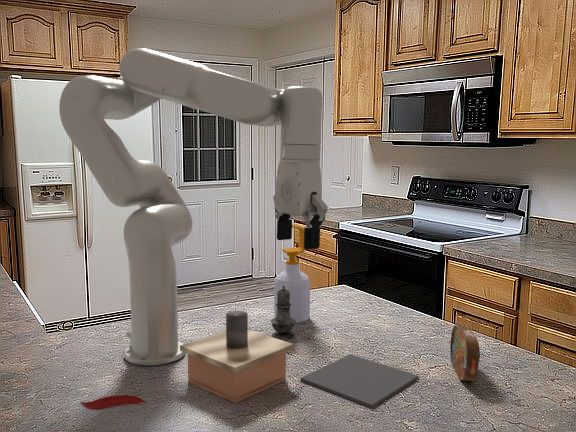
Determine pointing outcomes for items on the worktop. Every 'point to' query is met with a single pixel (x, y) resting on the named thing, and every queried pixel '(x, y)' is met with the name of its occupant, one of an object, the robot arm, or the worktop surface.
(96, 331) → the worktop surface
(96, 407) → the cayenne pepper
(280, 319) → the salt shaker
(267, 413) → the worktop surface
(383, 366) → the mat
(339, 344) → the worktop surface
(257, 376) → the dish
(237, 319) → the lid
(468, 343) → the tin
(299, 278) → the soap bottle
